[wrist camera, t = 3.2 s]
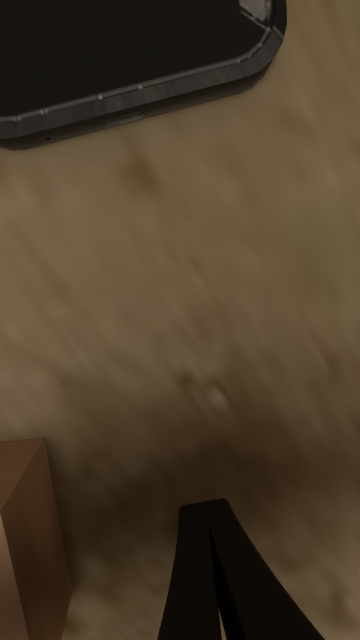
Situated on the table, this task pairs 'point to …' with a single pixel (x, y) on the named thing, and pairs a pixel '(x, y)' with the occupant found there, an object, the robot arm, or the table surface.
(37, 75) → the phone
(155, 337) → the table surface
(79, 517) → the table surface
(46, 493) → the walnut tile
